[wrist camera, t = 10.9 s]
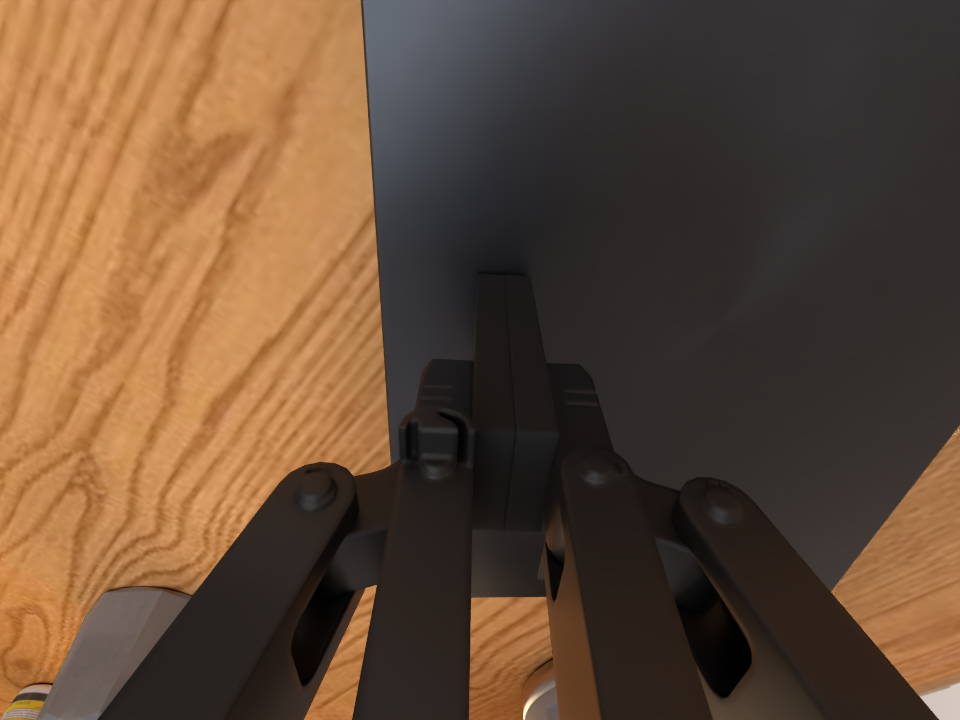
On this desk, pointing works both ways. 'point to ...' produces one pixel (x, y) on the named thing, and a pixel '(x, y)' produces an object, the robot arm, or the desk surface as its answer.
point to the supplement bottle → (27, 703)
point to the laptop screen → (687, 235)
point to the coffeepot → (110, 650)
